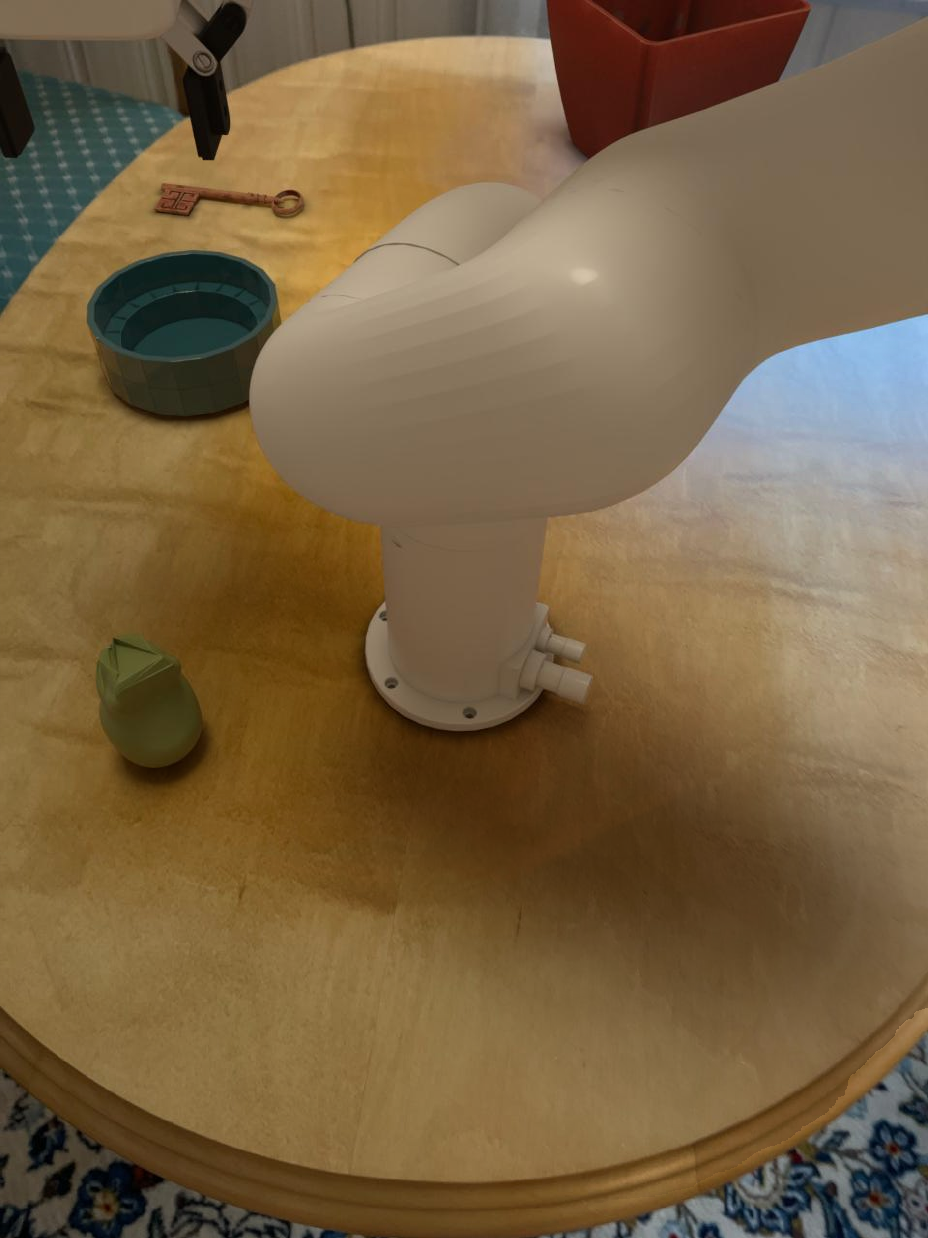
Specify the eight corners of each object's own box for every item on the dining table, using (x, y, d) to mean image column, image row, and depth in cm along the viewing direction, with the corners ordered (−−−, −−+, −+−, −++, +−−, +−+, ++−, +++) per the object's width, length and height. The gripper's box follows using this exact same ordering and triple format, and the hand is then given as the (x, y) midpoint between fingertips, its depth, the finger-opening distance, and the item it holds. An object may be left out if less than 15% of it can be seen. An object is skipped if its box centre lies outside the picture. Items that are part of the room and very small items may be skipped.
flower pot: (621, 220, 99) (649, 42, 86) (528, 137, 109) (540, -34, 96) (770, 178, 105) (818, 5, 91) (668, 103, 115) (698, -63, 102)
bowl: (317, 336, 86) (310, 276, 82) (226, 442, 78) (212, 381, 73) (172, 293, 90) (157, 234, 85) (69, 390, 81) (46, 329, 77)
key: (150, 213, 99) (291, 230, 97) (147, 204, 98) (290, 222, 96) (170, 179, 102) (308, 196, 100) (168, 171, 101) (307, 187, 99)
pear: (179, 693, 63) (141, 596, 55) (227, 744, 61) (195, 651, 53) (103, 744, 61) (53, 651, 53) (151, 800, 59) (106, 711, 51)
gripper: (-298, -302, 33) (-81, 182, 47) (207, -295, 33) (278, 186, 47) (-204, -341, 38) (-32, 109, 51) (239, -336, 38) (295, 113, 51)
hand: (116, 146), depth 49 cm, fingers open, 9 cm apart
